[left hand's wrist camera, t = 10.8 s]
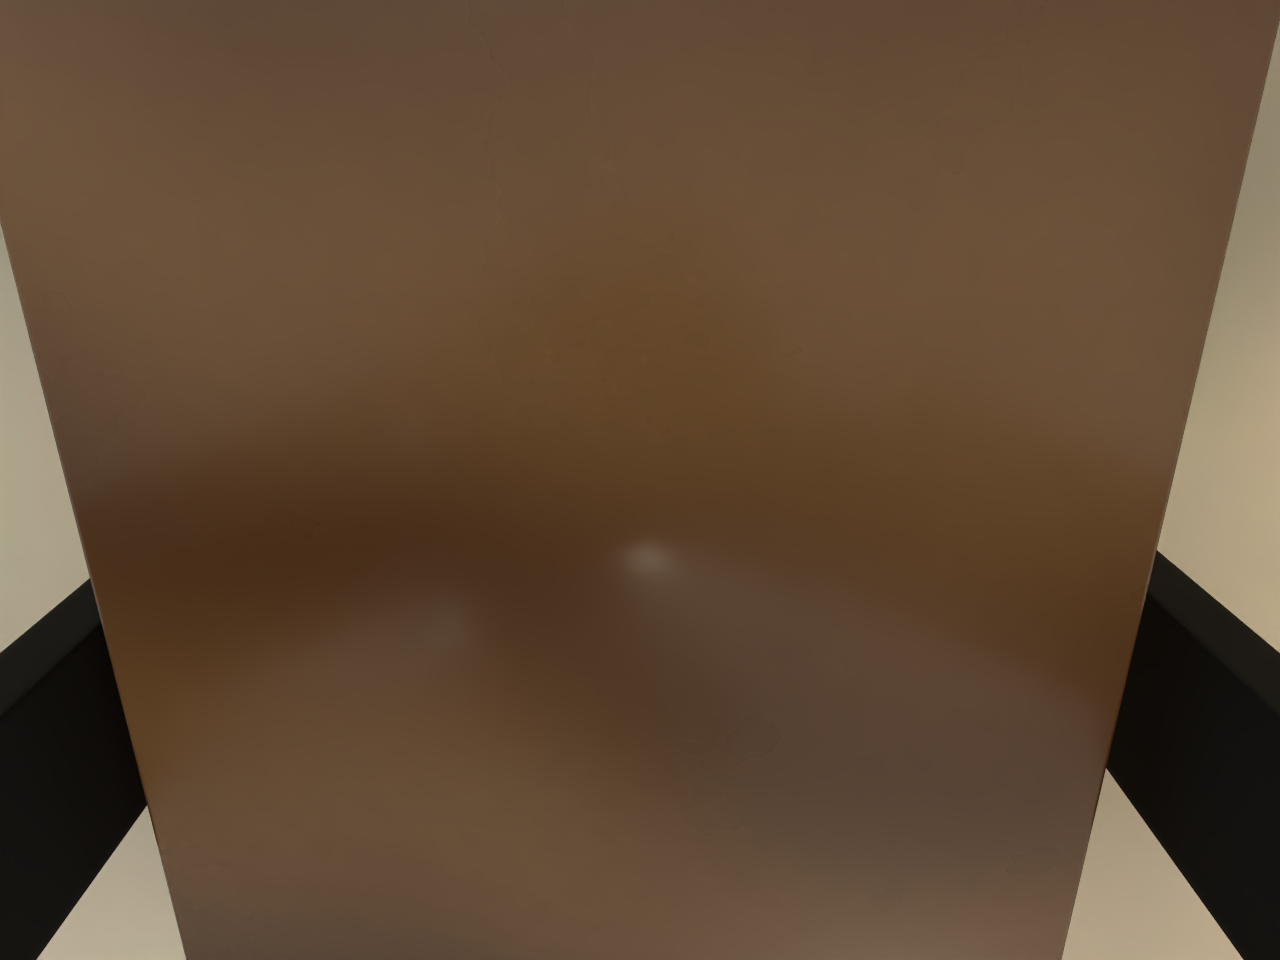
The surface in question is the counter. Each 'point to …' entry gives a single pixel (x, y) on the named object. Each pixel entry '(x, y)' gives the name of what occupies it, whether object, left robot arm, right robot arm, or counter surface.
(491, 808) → the wide beam
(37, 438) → the counter surface
